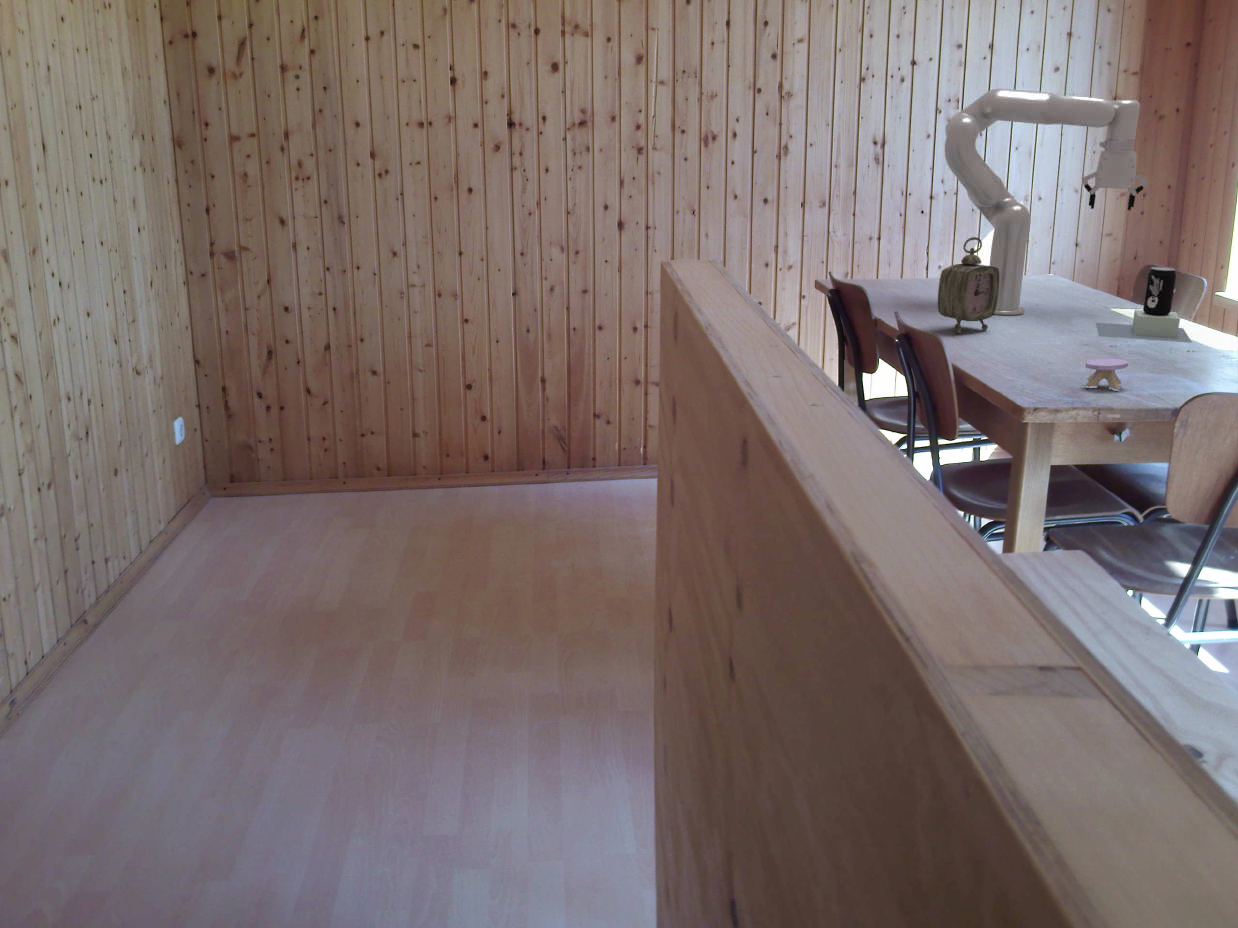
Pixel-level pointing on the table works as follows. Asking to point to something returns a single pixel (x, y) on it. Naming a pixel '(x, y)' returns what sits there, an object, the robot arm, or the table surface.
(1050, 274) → the table surface
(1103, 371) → the toy table
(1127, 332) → the board
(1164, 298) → the beverage can
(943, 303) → the tabletop clock
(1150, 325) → the plinth
